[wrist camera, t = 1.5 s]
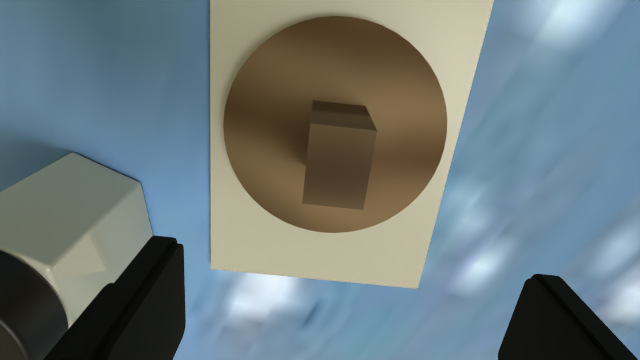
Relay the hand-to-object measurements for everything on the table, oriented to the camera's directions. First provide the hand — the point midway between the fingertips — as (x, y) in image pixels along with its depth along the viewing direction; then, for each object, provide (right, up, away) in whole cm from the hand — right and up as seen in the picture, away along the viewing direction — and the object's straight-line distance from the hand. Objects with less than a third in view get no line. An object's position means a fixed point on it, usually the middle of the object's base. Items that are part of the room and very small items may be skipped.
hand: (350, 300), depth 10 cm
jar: (-16, +1, +16) cm, 23 cm away
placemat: (0, +5, +14) cm, 15 cm away
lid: (0, +6, +13) cm, 14 cm away
